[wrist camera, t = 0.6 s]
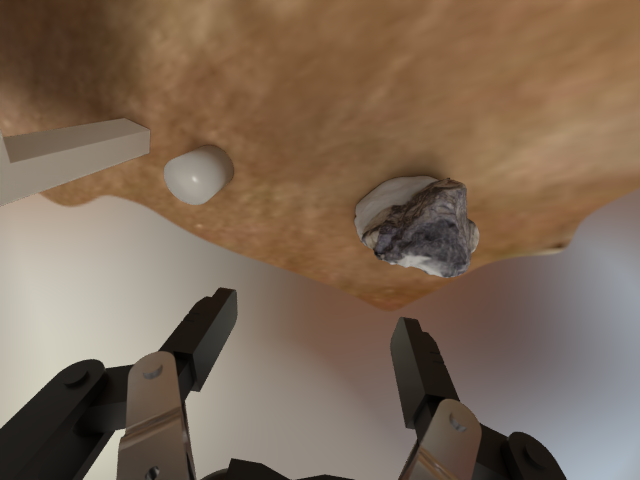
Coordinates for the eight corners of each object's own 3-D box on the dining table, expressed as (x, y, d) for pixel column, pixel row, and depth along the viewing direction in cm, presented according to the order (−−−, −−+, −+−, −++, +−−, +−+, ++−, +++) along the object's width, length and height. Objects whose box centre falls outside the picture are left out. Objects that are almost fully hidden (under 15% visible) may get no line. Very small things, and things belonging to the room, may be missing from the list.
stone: (364, 249, 38) (327, 280, 24) (359, 184, 36) (318, 178, 23) (467, 248, 32) (494, 289, 18) (467, 171, 30) (497, 153, 17)
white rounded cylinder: (196, 137, 29) (165, 148, 24) (238, 156, 30) (216, 171, 25) (191, 175, 32) (162, 192, 27) (229, 192, 33) (207, 211, 28)
